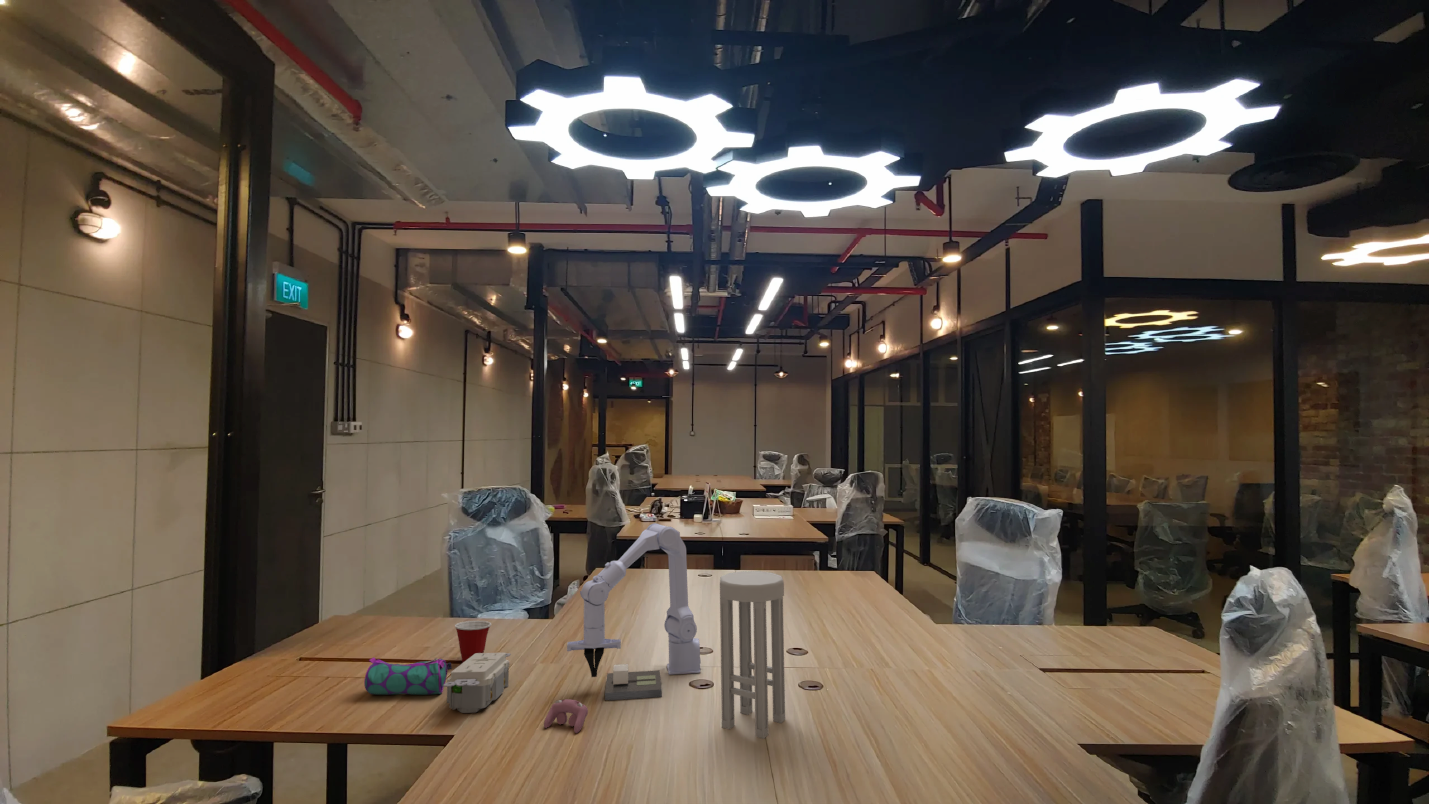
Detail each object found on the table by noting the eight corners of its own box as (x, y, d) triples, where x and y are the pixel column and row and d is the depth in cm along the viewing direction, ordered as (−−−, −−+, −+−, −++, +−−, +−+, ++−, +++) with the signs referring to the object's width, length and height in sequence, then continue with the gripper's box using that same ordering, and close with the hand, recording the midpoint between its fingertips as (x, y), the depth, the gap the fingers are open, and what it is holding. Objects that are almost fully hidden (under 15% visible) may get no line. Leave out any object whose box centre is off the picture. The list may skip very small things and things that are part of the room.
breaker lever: (628, 676, 178) (628, 663, 178) (628, 683, 173) (627, 670, 173) (613, 677, 177) (613, 664, 178) (613, 684, 172) (613, 671, 173)
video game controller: (585, 734, 152) (592, 702, 156) (576, 733, 148) (583, 700, 152) (550, 728, 155) (557, 697, 159) (540, 727, 152) (548, 695, 155)
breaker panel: (659, 677, 183) (659, 669, 183) (661, 696, 169) (661, 688, 170) (607, 680, 181) (607, 672, 182) (605, 700, 168) (605, 692, 168)
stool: (767, 744, 143) (764, 587, 144) (709, 728, 151) (707, 580, 153) (796, 718, 156) (793, 574, 158) (741, 704, 164) (739, 568, 166)
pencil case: (451, 685, 180) (452, 651, 180) (439, 698, 171) (440, 662, 171) (376, 688, 178) (377, 653, 179) (360, 701, 170) (361, 665, 170)
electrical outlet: (434, 721, 155) (435, 679, 157) (475, 683, 184) (476, 648, 185) (482, 720, 156) (483, 677, 157) (516, 682, 184) (517, 647, 185)
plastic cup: (498, 659, 200) (498, 621, 200) (469, 670, 190) (469, 630, 191) (476, 653, 205) (476, 616, 206) (446, 664, 196) (447, 624, 197)
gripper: (621, 620, 180) (621, 668, 179) (569, 622, 178) (568, 671, 177) (620, 627, 173) (620, 678, 172) (566, 630, 171) (566, 681, 170)
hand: (594, 675), depth 174 cm, fingers closed
